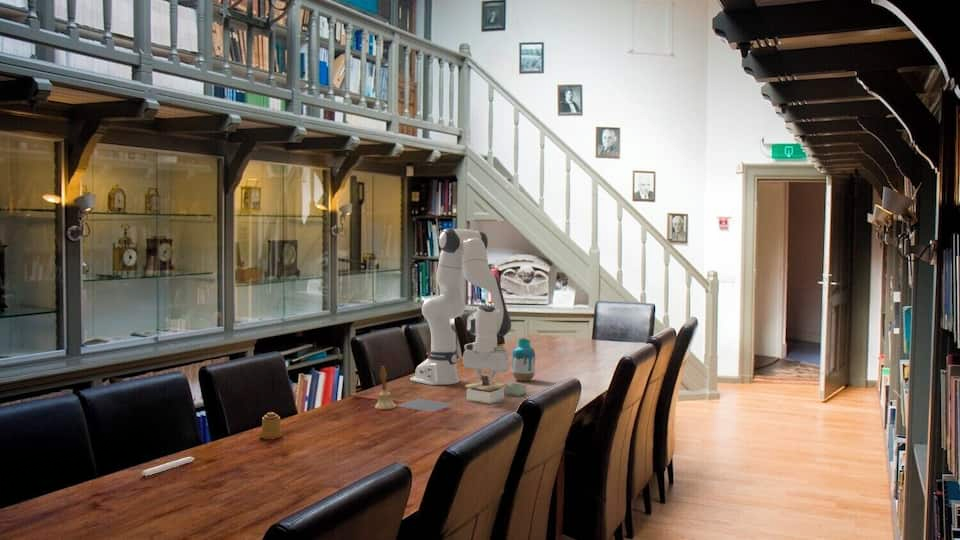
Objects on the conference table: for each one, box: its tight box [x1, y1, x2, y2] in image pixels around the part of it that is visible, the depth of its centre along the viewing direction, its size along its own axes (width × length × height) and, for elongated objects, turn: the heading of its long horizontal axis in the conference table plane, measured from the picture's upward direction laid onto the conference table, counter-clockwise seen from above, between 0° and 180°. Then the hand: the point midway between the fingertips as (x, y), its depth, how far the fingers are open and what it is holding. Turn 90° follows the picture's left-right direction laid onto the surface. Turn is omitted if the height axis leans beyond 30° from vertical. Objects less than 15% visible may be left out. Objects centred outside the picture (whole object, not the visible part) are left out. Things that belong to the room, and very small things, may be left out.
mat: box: [396, 398, 456, 413], centre depth 316 cm, size 18×16×1 cm
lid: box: [464, 375, 507, 391], centre depth 327 cm, size 12×12×4 cm
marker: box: [140, 456, 195, 476], centre depth 232 cm, size 18×2×2 cm, turn 151°
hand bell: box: [374, 365, 397, 410], centre depth 312 cm, size 8×8×16 cm
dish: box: [466, 387, 505, 405], centre depth 327 cm, size 11×11×5 cm
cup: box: [505, 382, 527, 397], centre depth 340 cm, size 6×6×4 cm
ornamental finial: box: [259, 411, 284, 440], centre depth 268 cm, size 8×8×8 cm
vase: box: [511, 338, 536, 382], centre depth 370 cm, size 11×11×19 cm
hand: (485, 380), depth 327 cm, fingers open, 3 cm apart
